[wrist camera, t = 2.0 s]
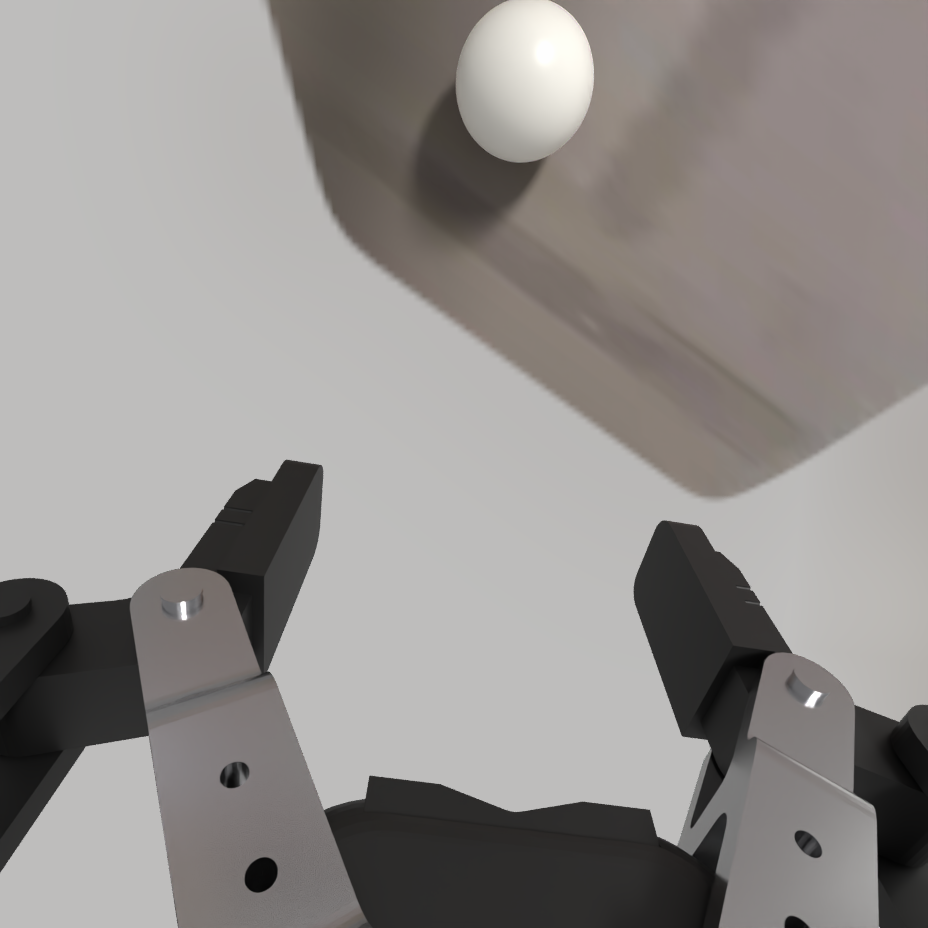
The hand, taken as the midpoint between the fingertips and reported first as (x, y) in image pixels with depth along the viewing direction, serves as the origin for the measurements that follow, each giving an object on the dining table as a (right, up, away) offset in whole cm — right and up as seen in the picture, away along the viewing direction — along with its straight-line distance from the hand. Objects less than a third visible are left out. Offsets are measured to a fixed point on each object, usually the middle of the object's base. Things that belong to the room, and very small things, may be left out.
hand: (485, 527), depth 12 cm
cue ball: (+2, +17, +11) cm, 20 cm away
